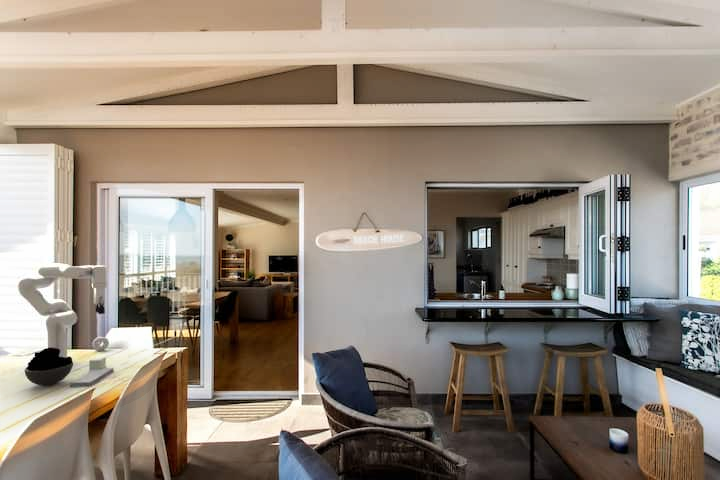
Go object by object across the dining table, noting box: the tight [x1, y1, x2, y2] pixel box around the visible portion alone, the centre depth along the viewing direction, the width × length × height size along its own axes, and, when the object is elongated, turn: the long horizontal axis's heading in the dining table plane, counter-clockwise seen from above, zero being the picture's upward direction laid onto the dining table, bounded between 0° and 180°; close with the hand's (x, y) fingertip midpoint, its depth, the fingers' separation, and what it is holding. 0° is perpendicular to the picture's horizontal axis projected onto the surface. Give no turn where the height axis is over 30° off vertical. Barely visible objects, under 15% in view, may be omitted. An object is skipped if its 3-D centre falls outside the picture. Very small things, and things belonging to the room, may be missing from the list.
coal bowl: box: [24, 347, 74, 387], centre depth 204 cm, size 20×20×19 cm
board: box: [69, 367, 114, 388], centre depth 212 cm, size 10×24×2 cm, turn 8°
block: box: [88, 356, 107, 372], centre depth 230 cm, size 6×6×6 cm
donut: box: [91, 336, 110, 352], centre depth 271 cm, size 10×4×10 cm, turn 117°
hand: (100, 313), depth 239 cm, fingers open, 9 cm apart
